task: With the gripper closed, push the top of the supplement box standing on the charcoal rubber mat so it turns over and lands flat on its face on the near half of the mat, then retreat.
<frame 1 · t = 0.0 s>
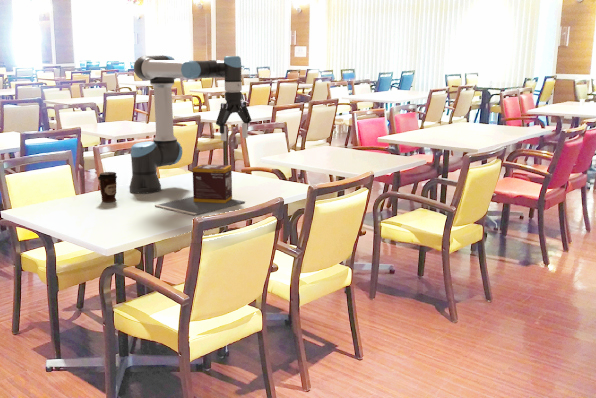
hand: (234, 139, 291), 28 cm above the table, fingers open, 13 cm apart
mat: (200, 204, 288), on the table
supplement box: (213, 200, 294), resting on mat
coffee cup: (109, 201, 295), on the table
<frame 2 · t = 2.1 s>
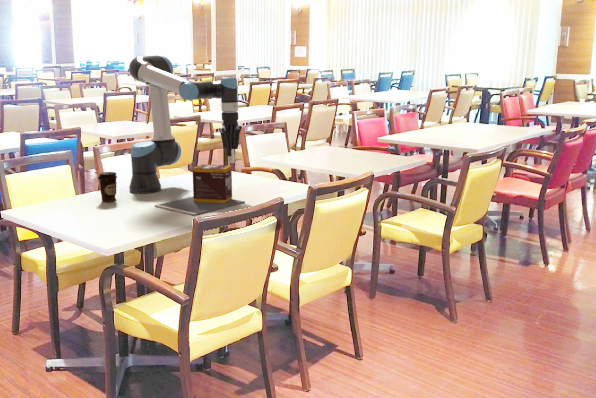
hand: (231, 162, 299), 16 cm above the table, fingers closed
nothing on the table moved.
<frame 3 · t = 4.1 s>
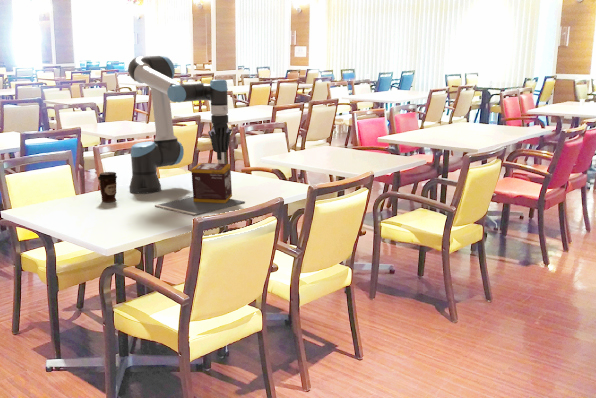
hand: (221, 166, 295), 15 cm above the table, fingers closed
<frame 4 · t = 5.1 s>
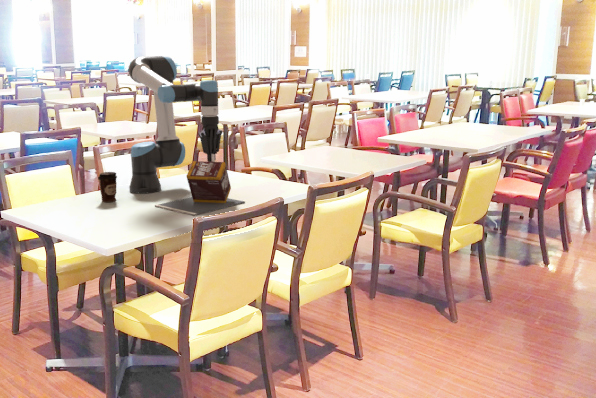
hand: (211, 168, 290), 15 cm above the table, fingers closed
supplement box: (212, 195, 292), point 3 cm above the table, touching mat
everything else where it was.
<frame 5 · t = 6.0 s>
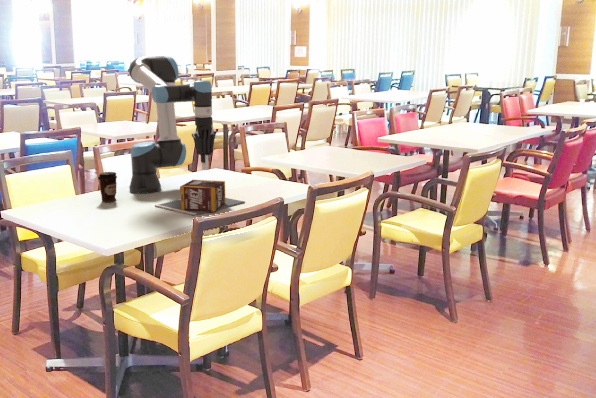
hand: (205, 169, 287), 15 cm above the table, fingers closed
supplement box: (209, 191, 288), point 6 cm above the table, touching mat
everything else where it was.
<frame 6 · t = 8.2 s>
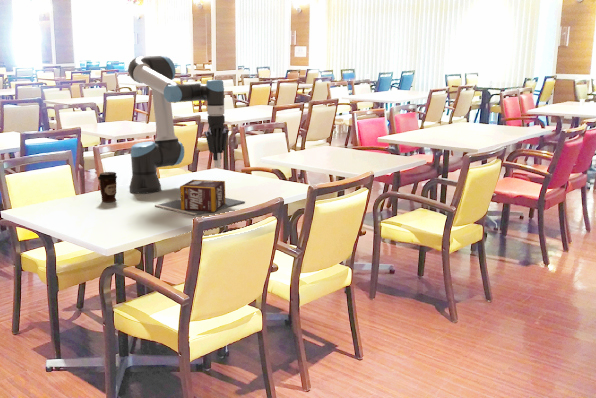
hand: (217, 167, 293), 15 cm above the table, fingers closed
nothing on the table moved.
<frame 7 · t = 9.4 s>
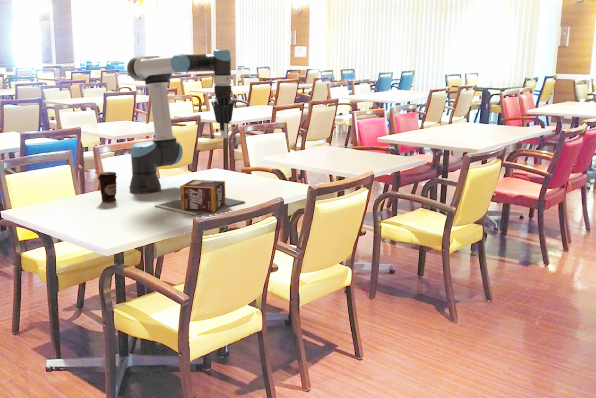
hand: (224, 137, 293), 28 cm above the table, fingers closed
nothing on the table moved.
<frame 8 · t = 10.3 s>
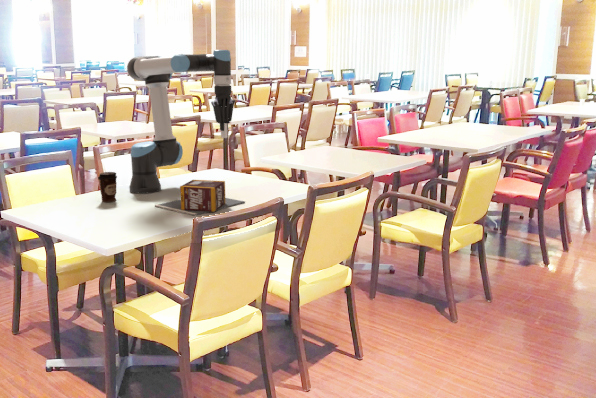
hand: (224, 137, 293), 28 cm above the table, fingers closed
nothing on the table moved.
at the end: supplement box tilted 90°; supplement box inside the target area (4.7 cm from its centre), point 5.8 cm above the table; the gripper is holding nothing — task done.
